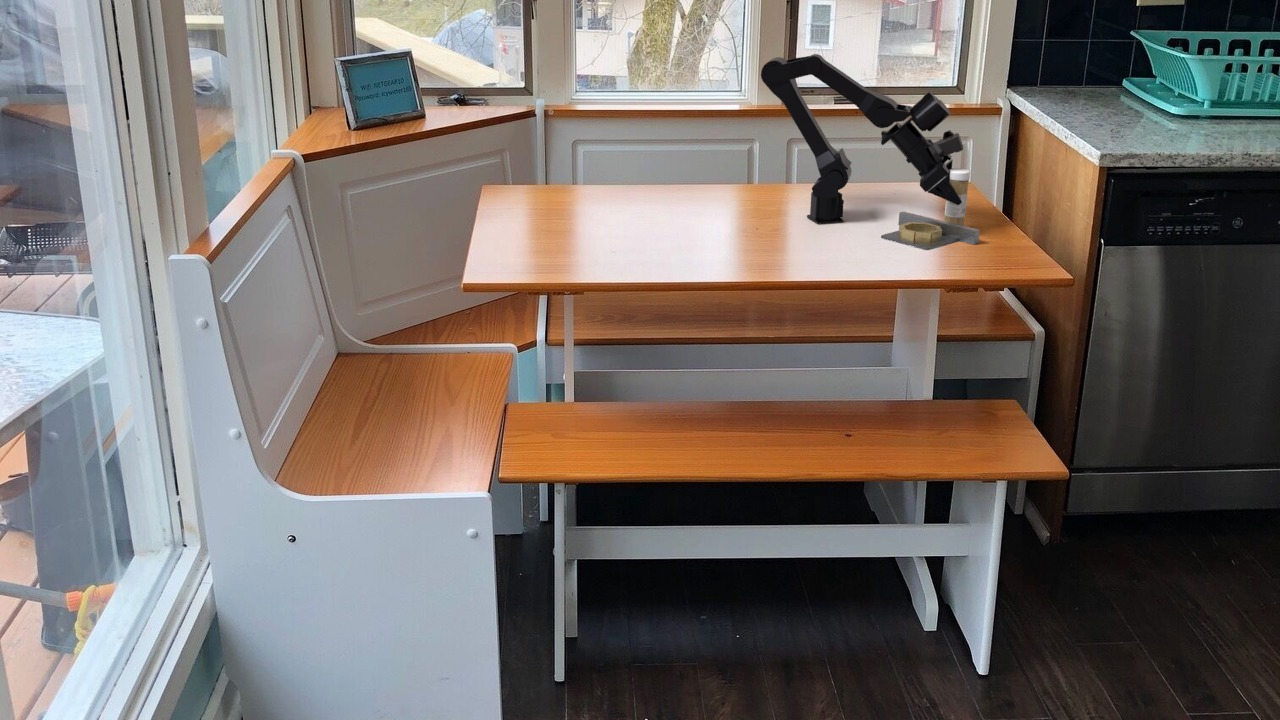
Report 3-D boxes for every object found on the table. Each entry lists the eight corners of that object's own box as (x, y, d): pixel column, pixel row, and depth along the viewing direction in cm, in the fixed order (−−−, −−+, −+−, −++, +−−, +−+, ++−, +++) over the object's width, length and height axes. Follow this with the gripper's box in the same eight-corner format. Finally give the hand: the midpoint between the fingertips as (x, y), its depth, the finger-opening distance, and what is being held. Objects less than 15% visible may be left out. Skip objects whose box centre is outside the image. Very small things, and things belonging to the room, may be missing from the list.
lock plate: (866, 234, 263) (867, 220, 262) (902, 224, 271) (903, 211, 270) (942, 254, 249) (943, 240, 248) (978, 243, 257) (979, 229, 256)
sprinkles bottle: (951, 226, 270) (957, 166, 265) (968, 230, 267) (974, 170, 262) (938, 229, 267) (944, 169, 262) (955, 233, 264) (961, 173, 259)
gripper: (941, 128, 251) (990, 184, 252) (945, 113, 268) (991, 165, 269) (899, 163, 256) (948, 218, 257) (905, 146, 273) (951, 198, 274)
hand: (961, 198), depth 264 cm, fingers open, 9 cm apart
